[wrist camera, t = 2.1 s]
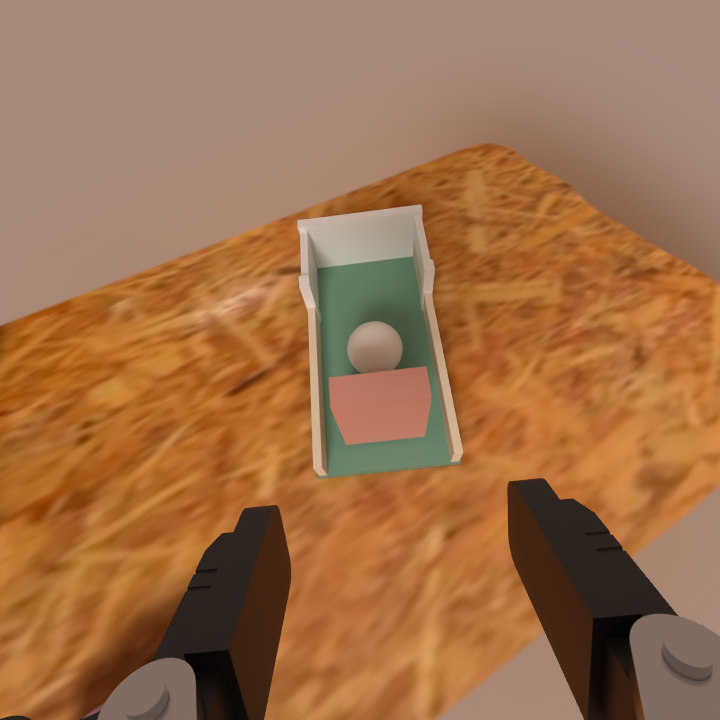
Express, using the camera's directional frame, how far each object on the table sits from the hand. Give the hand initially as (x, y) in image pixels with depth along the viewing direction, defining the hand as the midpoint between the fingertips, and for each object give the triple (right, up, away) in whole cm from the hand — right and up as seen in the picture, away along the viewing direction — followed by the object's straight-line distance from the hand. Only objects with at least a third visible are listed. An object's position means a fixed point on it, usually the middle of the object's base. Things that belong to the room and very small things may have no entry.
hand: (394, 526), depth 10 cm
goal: (0, +10, +30) cm, 32 cm away
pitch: (+1, +4, +27) cm, 27 cm away
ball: (0, +5, +24) cm, 24 cm away
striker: (+1, -1, +23) cm, 23 cm away
